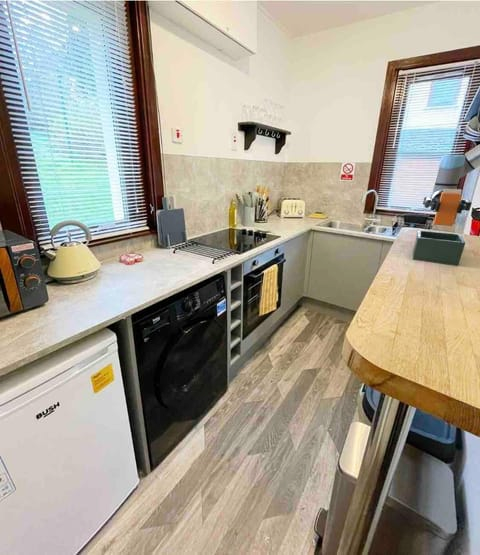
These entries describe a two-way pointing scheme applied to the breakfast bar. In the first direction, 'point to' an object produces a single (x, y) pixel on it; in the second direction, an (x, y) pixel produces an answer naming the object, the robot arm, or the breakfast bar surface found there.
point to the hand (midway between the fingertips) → (449, 208)
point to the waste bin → (438, 247)
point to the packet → (448, 207)
